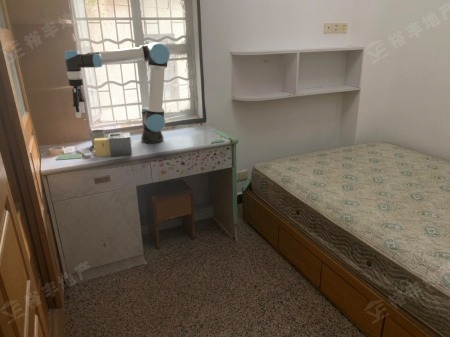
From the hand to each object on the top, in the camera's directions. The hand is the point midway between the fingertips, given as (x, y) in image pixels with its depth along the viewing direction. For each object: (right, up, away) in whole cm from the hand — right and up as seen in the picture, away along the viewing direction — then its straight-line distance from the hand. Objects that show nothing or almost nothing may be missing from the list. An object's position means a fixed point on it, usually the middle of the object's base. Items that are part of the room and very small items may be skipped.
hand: (80, 115), depth 212 cm
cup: (+3, -17, +22) cm, 28 cm away
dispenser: (+22, -23, +8) cm, 33 cm away
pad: (-7, -25, +1) cm, 26 cm away
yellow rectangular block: (+14, -23, +6) cm, 28 cm away
